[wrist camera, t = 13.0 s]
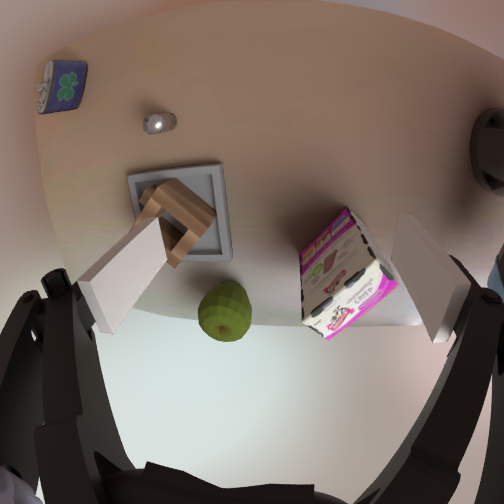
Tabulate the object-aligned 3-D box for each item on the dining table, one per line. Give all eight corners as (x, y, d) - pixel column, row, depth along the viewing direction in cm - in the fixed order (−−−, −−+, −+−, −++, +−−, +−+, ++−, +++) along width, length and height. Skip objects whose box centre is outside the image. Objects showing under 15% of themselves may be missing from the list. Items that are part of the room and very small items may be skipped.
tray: (222, 162, 39) (219, 165, 38) (233, 255, 47) (230, 261, 45) (133, 173, 42) (127, 176, 40) (151, 255, 49) (146, 260, 47)
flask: (80, 61, 33) (37, 60, 23) (91, 61, 33) (48, 58, 23) (70, 109, 37) (27, 116, 28) (80, 110, 37) (37, 117, 28)
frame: (165, 168, 40) (147, 178, 35) (218, 213, 43) (208, 228, 37) (138, 209, 44) (120, 223, 39) (187, 250, 47) (174, 268, 41)
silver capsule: (175, 111, 36) (159, 112, 32) (177, 129, 38) (162, 132, 33) (159, 114, 37) (141, 116, 32) (161, 132, 38) (144, 135, 33)
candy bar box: (320, 271, 46) (328, 343, 32) (298, 253, 45) (298, 323, 31) (368, 225, 41) (401, 285, 26) (347, 204, 40) (375, 258, 26)
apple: (203, 272, 49) (182, 314, 39) (248, 264, 47) (236, 307, 37) (220, 310, 53) (204, 354, 43) (262, 304, 51) (254, 350, 41)
